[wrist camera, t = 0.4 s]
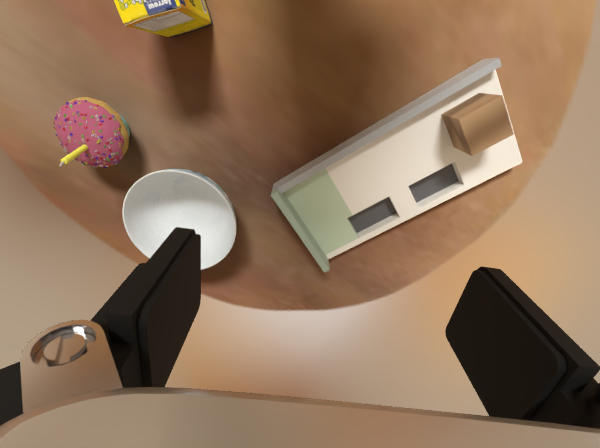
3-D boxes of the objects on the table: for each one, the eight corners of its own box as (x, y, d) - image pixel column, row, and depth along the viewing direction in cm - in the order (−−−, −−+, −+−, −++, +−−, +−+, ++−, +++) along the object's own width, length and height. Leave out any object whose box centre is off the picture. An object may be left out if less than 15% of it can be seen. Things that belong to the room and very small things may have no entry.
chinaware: (237, 152, 44) (225, 166, 38) (251, 242, 51) (243, 268, 44) (136, 158, 45) (105, 174, 38) (162, 246, 52) (141, 273, 45)
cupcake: (153, 150, 44) (106, 175, 34) (101, 165, 45) (38, 193, 35) (123, 87, 41) (60, 93, 30) (67, 105, 42) (-14, 116, 31)
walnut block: (441, 114, 40) (458, 119, 36) (479, 92, 39) (502, 95, 34) (453, 147, 42) (472, 156, 37) (490, 127, 41) (513, 134, 36)
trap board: (273, 183, 46) (270, 195, 42) (483, 58, 39) (507, 57, 35) (322, 255, 52) (324, 272, 48) (513, 158, 45) (537, 168, 40)
